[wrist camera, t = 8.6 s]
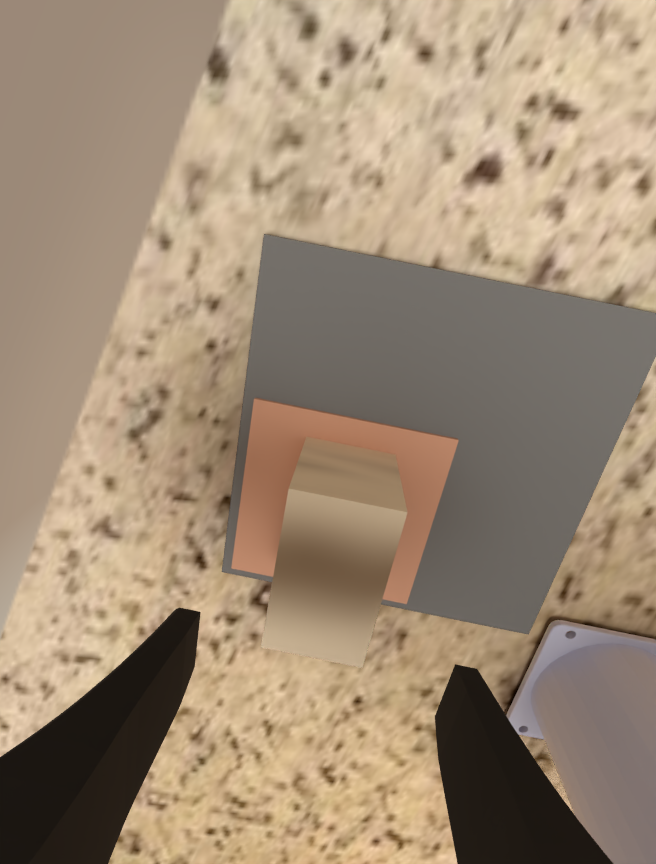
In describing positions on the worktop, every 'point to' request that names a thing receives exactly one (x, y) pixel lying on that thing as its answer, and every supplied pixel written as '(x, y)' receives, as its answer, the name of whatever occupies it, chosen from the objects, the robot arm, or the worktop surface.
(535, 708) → the robot arm
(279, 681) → the worktop surface
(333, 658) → the birch block
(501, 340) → the rubber mat
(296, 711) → the worktop surface
